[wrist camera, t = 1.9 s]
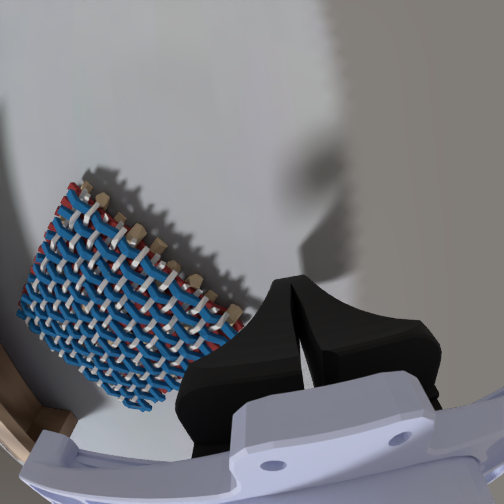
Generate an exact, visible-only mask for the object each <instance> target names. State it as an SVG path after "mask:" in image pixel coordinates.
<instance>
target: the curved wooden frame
mask: <svg viewBox="0 0 504 504" xmlns="http://www.w3.org/2000/svg"><path fill="white" fill-rule="evenodd" d="M77 422H78V420H77V418H76V417H75V416H74V415H73V413H72V412H71V411H66V410H60V409H54V408H48V407H43V406H42V405H41V403H40V402H39V401H38V400H37V398H36V397H35V395H34V394H33V393H32V391H31V390H30V389H29V387H28V386H27V384H26V383H25V381H24V380H23V378H22V377H21V375H20V374H19V372H18V371H17V369H16V368H15V366H14V365H13V363H12V361H11V360H10V358H9V357H8V355H7V353H6V352H5V350H4V348H3V346H2V345H1V343H0V443H1V444H2V445H3V446H4V447H5V448H6V449H7V450H8V451H9V452H10V453H11V454H12V455H13V456H14V457H15V458H16V459H18V460H20V461H23V462H26V460H27V458H28V456H29V454H30V453H31V451H32V449H33V447H34V445H35V443H36V442H37V440H38V438H39V436H40V434H41V433H42V431H43V430H48V431H52V432H56V433H60V434H63V435H66V436H67V437H69V438H70V436H71V434H72V432H73V430H74V428H75V426H76V424H77Z"/></svg>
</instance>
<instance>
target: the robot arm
mask: <svg viewBox="0 0 504 504" xmlns="http://www.w3.org/2000/svg"><path fill="white" fill-rule="evenodd" d="M299 339H300V341H299ZM300 342H301V345H302V348H303V351H304V355H305V358H306V361H307V364H308V367H309V371H310V374H311V377H312V381H313V385H314V388H311V389H305V390H304V383H303V376H302V369H301V358H300ZM441 353H442V351H441V348H440V344H439V343H438V341H437V340H436V339H435V337H434V336H433V334H432V333H431V332H430V331H429V329H428V328H427V327H426V326H425V325H424V324H423V323H422V322H421V321H420V320H407V319H395V318H390V317H385V316H380V315H376V314H372V313H369V312H365V311H362V310H360V309H357V308H354V307H352V306H350V305H348V304H345V303H343V302H341V301H339V300H338V299H336V298H334V297H333V296H331V295H329V294H328V293H327V292H325V291H324V290H322V289H321V288H320V287H319V286H317V285H316V284H315V283H314V282H313V281H311V280H310V279H309V278H308V277H307V276H306V275H298V276H293V277H287V278H282V279H276V280H274V281H273V282H272V285H271V288H270V290H269V292H268V294H267V296H266V298H265V300H264V302H263V303H262V305H261V307H260V308H259V310H258V311H257V313H256V314H255V316H254V317H253V318H252V319H251V321H250V322H249V323H248V324H247V325H246V326H245V327H244V328H243V329H242V330H241V331H240V332H239V333H238V334H237V335H235V336H234V337H233V338H232V339H231V340H229V341H228V342H227V343H225V344H224V345H222V346H221V347H219V348H218V349H216V350H215V351H213V352H211V353H210V354H208V355H206V356H204V357H202V358H200V359H198V360H196V361H194V362H191V363H189V365H188V367H187V369H186V372H185V374H184V376H183V379H182V381H181V385H180V388H179V392H178V395H177V399H176V402H175V411H176V414H177V416H178V419H179V420H180V422H181V423H182V425H183V427H184V428H185V430H186V431H187V433H188V434H189V436H190V438H191V439H192V441H193V442H194V447H193V453H192V458H191V459H187V460H181V461H175V462H165V461H153V460H143V459H134V458H126V457H120V456H113V455H107V454H102V453H96V452H91V451H86V450H82V449H79V448H78V446H77V445H76V444H75V443H74V441H73V440H71V439H70V438H69V437H67V436H66V435H63V434H60V433H56V432H52V431H48V430H43V431H42V433H41V434H40V436H39V438H38V440H37V442H36V443H35V445H34V447H33V449H32V451H31V453H30V454H29V456H28V458H27V460H26V462H25V464H24V466H23V468H22V470H21V472H20V474H19V477H20V479H21V480H23V481H24V482H25V483H26V484H27V485H29V486H30V487H31V488H32V489H34V490H35V491H36V492H38V493H39V494H40V495H42V496H43V497H44V498H46V499H47V500H48V501H50V502H51V503H52V504H495V501H494V499H493V497H492V494H491V492H490V490H489V487H488V485H487V484H489V483H490V482H492V481H493V480H495V479H496V478H497V477H499V476H500V475H502V474H503V473H504V387H502V388H500V389H498V390H497V391H495V392H493V393H491V394H489V395H487V396H485V397H484V398H482V399H480V400H478V401H476V402H474V403H472V404H470V405H465V406H461V407H455V408H450V409H444V410H443V409H442V407H441V405H440V403H439V402H438V400H437V398H438V397H439V392H438V390H437V389H436V387H435V385H434V384H435V380H436V377H437V373H438V369H439V366H440V361H441Z"/></svg>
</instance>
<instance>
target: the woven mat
mask: <svg viewBox="0 0 504 504" xmlns="http://www.w3.org/2000/svg"><path fill="white" fill-rule="evenodd" d="M93 188H94V187H93V186H91V185H90V184H89V183H88V182H87V181H85V182H84V183H83V185H82V186H81V188H80V187H78V186H77V185H76V184H75V183H74V182H72V183H70V185H69V186H68V188H67V189H68V190H69V191H68V193H67V196H64V197H63V199H62V200H61V202H60V203H61V206H58V208H57V210H56V212H55V215H57V216H59V217H55V218H54V220H53V222H51V223H50V224H49V226H48V229H49V230H47V232H46V231H45V235H44V237H45V239H46V241H47V242H45V241H43V243H42V245H41V246H40V247H39V249H38V251H39V252H40V253H41V254H40V253H37V255H36V256H35V258H34V260H33V261H34V262H35V263H34V265H32V266H31V269H30V271H31V274H29V276H28V282H30V283H26V284H25V285H24V287H23V289H24V290H23V292H22V294H23V295H22V298H21V300H20V301H19V302H18V305H19V306H20V307H21V308H22V310H23V311H21V310H20V309H18V311H17V314H16V315H17V316H18V317H20V318H22V319H23V320H25V322H26V325H27V327H28V326H29V329H30V330H31V331H32V332H33V333H36V334H40V340H43V337H44V339H45V341H46V342H47V344H48V346H49V347H50V349H51V351H52V352H54V350H55V351H58V352H59V357H62V356H63V358H64V360H65V361H66V362H67V363H68V364H70V365H75V366H79V367H80V369H79V370H78V371H80V372H81V373H82V372H83V374H84V376H85V377H86V379H88V380H89V381H95V382H97V383H96V384H97V385H98V387H99V386H102V387H103V389H104V390H105V391H106V392H107V394H109V395H112V396H116V397H119V398H118V400H119V401H120V402H121V401H122V402H123V404H124V405H125V406H126V407H128V408H132V409H139V410H140V411H142V412H144V411H145V410H146V411H149V412H150V411H151V410H152V406H151V405H149V403H148V402H146V401H145V400H144V399H147V400H151V401H153V402H154V403H156V402H157V401H158V400H159V401H161V402H163V401H164V400H165V399H166V398H165V395H163V394H162V392H163V393H164V394H165V393H166V392H170V391H172V390H173V389H175V390H177V391H178V390H179V388H180V385H181V384H180V383H178V382H176V381H175V380H174V379H173V378H172V377H175V376H177V377H178V378H179V379H181V378H183V376H184V374H185V372H186V369H187V367H188V365H189V363H191V362H194V361H196V360H198V359H200V358H202V357H204V356H206V355H208V354H210V353H211V352H213V351H215V350H216V349H218V348H219V347H221V346H222V345H224V344H225V343H227V342H228V341H229V340H231V339H232V338H233V337H234V336H235V335H237V334H238V331H240V330H241V329H242V328H243V327H244V325H243V324H242V322H241V321H240V320H239V319H238V318H239V317H240V316H241V314H242V313H243V311H242V309H241V308H240V307H239V306H236V305H234V304H231V305H230V307H229V308H228V309H227V308H226V307H223V306H219V305H216V304H215V303H214V301H215V300H216V298H217V297H218V295H217V294H215V293H214V292H213V291H211V290H208V291H207V292H206V293H205V294H204V295H202V294H201V293H202V292H203V291H201V290H200V289H199V288H200V285H201V283H202V281H203V278H202V277H201V276H199V275H198V274H194V275H191V276H188V277H187V279H186V280H185V281H184V280H182V279H181V278H180V277H179V276H178V275H177V274H178V273H179V272H180V269H181V266H180V265H179V264H178V263H177V262H176V261H174V260H172V261H169V262H167V264H166V263H165V262H163V261H161V260H160V258H161V257H160V255H161V254H162V253H163V251H164V250H165V249H166V248H167V245H166V244H165V243H164V242H163V241H162V240H160V239H159V238H158V237H157V238H156V239H155V241H154V242H153V243H152V244H151V246H150V247H149V248H148V247H147V246H146V244H145V242H144V241H143V238H144V237H145V235H146V234H147V232H146V230H145V229H144V227H143V226H142V225H140V224H138V223H136V224H135V225H134V226H133V228H132V229H131V228H130V227H127V226H125V225H124V223H125V221H126V218H125V217H124V216H123V215H122V214H121V213H120V212H118V213H117V215H116V216H115V218H112V217H111V216H110V215H109V214H108V213H107V212H106V209H107V208H108V205H109V203H110V197H109V196H108V195H107V194H105V193H104V192H103V193H100V194H98V195H96V198H95V201H94V200H92V199H91V198H90V196H91V195H90V193H91V191H92V190H93ZM72 231H74V232H72ZM85 246H86V247H85ZM68 248H69V249H68ZM135 248H137V249H135ZM54 264H57V265H56V268H55V266H54ZM95 269H96V270H95ZM94 270H95V271H94ZM93 271H94V273H93ZM61 289H62V291H61ZM134 290H135V291H134ZM164 291H165V293H166V294H163V292H164ZM103 295H105V296H103ZM26 303H27V304H26ZM192 305H193V306H192ZM121 307H122V310H121V312H119V310H120V309H121ZM70 311H71V312H70ZM90 314H91V315H90ZM125 314H126V315H125ZM86 324H87V325H88V327H87V325H86ZM231 326H233V327H234V328H235V330H236V331H237V332H236V331H235V330H234V329H233V328H232V327H231ZM66 329H67V331H66ZM129 331H130V332H131V333H134V334H130V333H128V332H129ZM166 332H167V333H166ZM192 334H194V335H192ZM50 336H51V337H50ZM106 339H107V340H106ZM53 341H54V342H53ZM95 343H96V344H95ZM71 344H72V345H71ZM146 344H147V345H146ZM220 345H221V346H220ZM117 346H118V347H119V348H120V350H117V349H115V348H116V347H117ZM100 347H101V348H100ZM151 347H152V348H151ZM149 348H151V349H150V350H149ZM69 353H71V354H70V356H69ZM74 356H75V357H76V359H75V358H74ZM87 356H88V357H87ZM113 357H114V358H115V359H114V358H113ZM91 359H92V361H91ZM160 366H161V367H162V368H158V367H160ZM87 367H88V368H90V369H92V370H91V371H89V369H88V368H87ZM94 373H97V375H93V374H94ZM123 375H124V376H123ZM144 380H146V381H144ZM113 385H115V386H116V387H113V388H111V387H112V386H113ZM156 388H158V389H159V390H160V391H159V390H158V389H156ZM118 390H119V391H118ZM161 391H162V392H161ZM149 392H150V393H149ZM134 402H135V403H134Z"/></svg>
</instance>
